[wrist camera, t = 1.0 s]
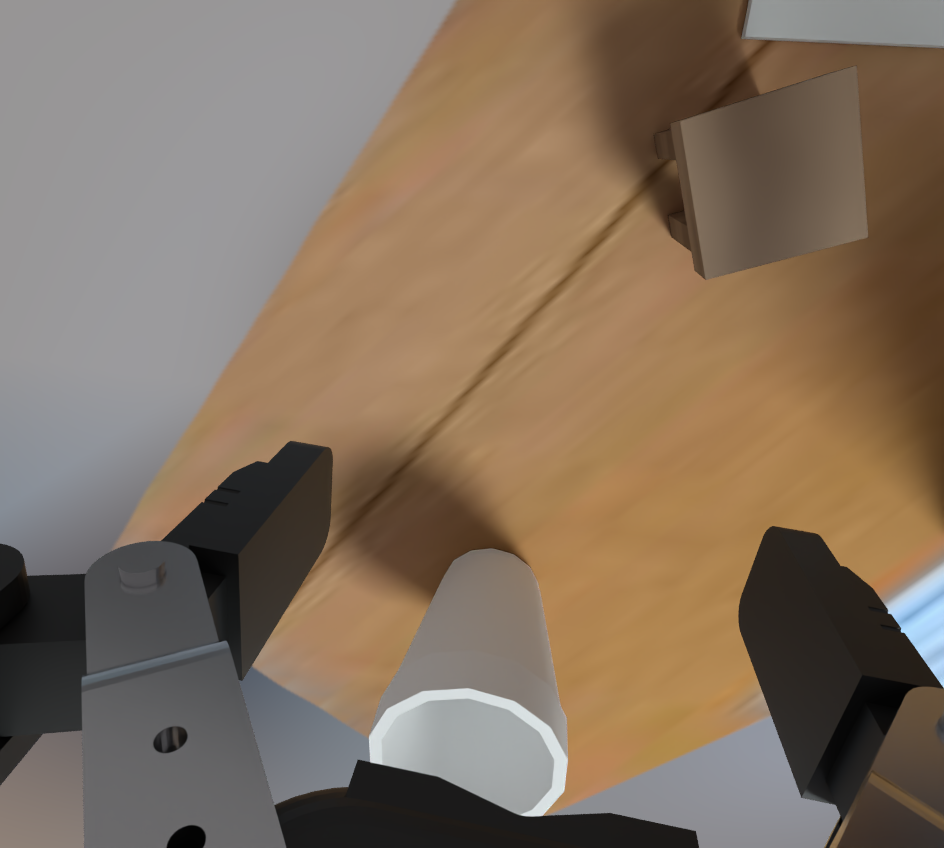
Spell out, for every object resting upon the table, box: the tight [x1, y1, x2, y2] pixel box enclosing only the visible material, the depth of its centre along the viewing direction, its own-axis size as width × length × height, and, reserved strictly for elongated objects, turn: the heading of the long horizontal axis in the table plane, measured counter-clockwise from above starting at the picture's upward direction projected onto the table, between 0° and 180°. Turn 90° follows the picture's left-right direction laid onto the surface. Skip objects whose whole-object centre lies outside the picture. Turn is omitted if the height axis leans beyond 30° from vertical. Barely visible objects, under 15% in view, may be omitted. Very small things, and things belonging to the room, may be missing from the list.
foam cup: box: [369, 548, 568, 816], centre depth 36 cm, size 10×9×13 cm
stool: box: [654, 66, 868, 280], centre depth 26 cm, size 6×6×9 cm
